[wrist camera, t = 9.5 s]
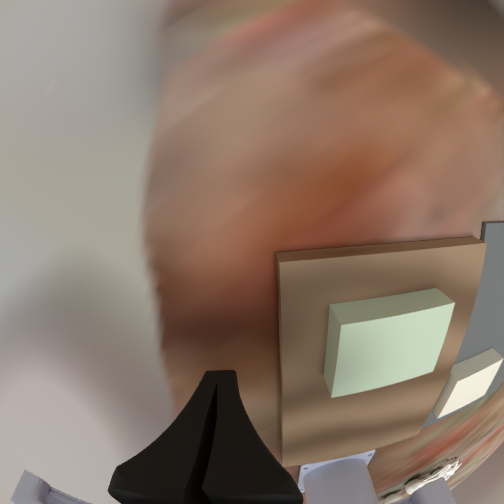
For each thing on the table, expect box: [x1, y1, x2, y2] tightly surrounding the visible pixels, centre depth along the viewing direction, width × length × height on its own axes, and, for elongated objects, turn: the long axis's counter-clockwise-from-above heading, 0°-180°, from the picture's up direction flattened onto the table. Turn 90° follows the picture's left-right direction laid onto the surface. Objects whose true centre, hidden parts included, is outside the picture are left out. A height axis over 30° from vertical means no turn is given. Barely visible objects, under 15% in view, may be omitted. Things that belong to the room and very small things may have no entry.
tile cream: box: [432, 348, 504, 419], centre depth 17 cm, size 5×7×2 cm
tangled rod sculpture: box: [383, 460, 462, 504], centre depth 27 cm, size 19×14×4 cm
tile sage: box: [324, 288, 455, 398], centre depth 13 cm, size 5×7×2 cm
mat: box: [422, 222, 504, 428], centre depth 17 cm, size 22×14×1 cm, turn 4°
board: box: [276, 237, 487, 467], centre depth 16 cm, size 20×14×2 cm
